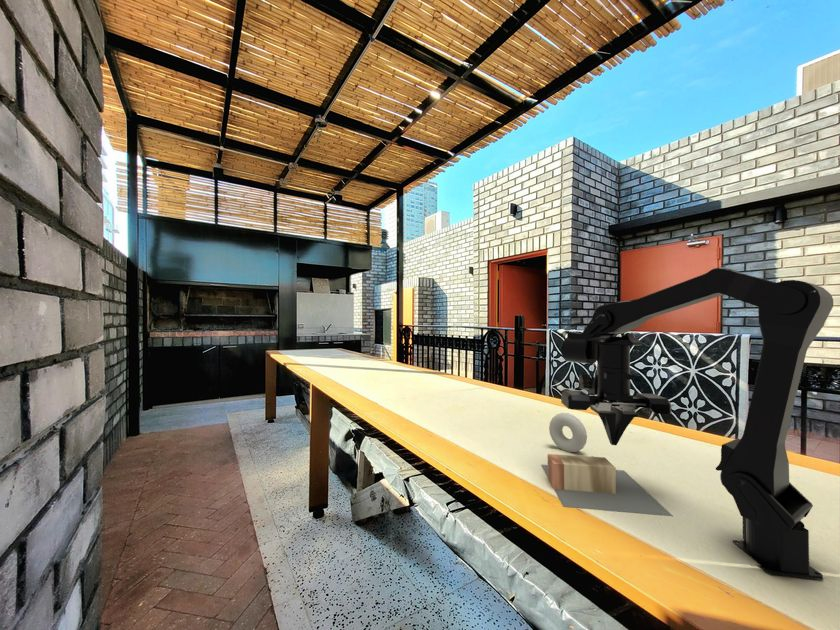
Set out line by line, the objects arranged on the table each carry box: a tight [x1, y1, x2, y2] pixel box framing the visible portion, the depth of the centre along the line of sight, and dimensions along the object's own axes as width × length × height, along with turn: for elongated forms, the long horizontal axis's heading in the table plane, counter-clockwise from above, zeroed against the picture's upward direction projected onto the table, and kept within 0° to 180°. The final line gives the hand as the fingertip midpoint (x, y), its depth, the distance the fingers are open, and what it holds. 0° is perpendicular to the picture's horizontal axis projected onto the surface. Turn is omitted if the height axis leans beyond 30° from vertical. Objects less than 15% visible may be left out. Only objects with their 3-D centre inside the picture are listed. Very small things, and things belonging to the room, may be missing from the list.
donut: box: [548, 412, 588, 453], centre depth 87 cm, size 10×4×10 cm, turn 36°
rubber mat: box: [540, 464, 674, 517], centre depth 67 cm, size 18×18×1 cm
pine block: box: [547, 453, 617, 494], centre depth 68 cm, size 5×5×12 cm
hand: (613, 444), depth 67 cm, fingers closed
